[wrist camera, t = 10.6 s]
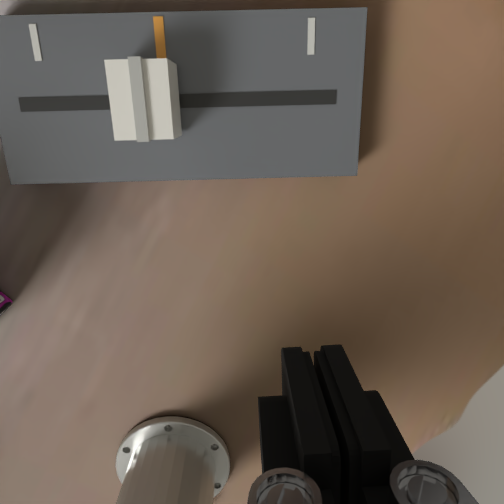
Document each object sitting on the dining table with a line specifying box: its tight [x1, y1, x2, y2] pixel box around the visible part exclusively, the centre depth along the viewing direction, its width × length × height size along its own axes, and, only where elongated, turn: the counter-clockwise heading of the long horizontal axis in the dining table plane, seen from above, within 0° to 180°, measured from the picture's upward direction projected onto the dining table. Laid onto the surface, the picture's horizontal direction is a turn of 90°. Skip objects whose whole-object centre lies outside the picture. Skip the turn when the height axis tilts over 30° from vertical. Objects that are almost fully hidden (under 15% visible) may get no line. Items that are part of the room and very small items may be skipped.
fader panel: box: [0, 7, 367, 185], centre depth 33 cm, size 12×28×3 cm, turn 91°
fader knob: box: [104, 56, 182, 142], centre depth 29 cm, size 5×4×4 cm
